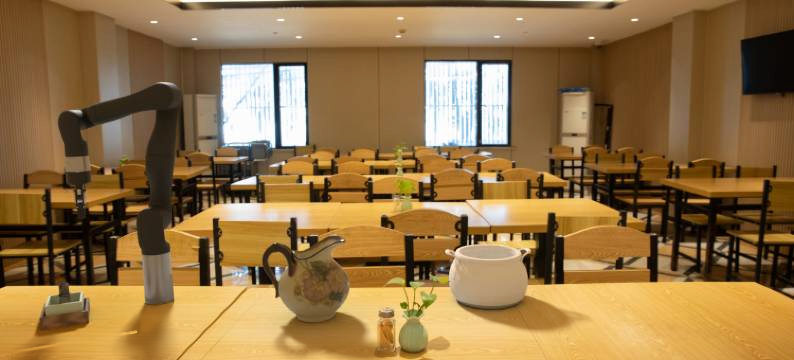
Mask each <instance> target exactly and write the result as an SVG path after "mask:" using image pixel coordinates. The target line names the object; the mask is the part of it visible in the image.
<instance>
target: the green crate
mask: <svg viewBox="0 0 794 360" xmlns="http://www.w3.org/2000/svg"><path fill="white" fill-rule="evenodd" d="M70 293H71V294H70V300H71V303H64V304H59V302H60V300H59V296H58V294H59V293H58V294H52V295H48V296H47V298H46V299H47V300H46V302H45V303H46V305H45V314H46V316H52V315H59V314H66V313H72V312H79V311H85V305H84V298H85V297H84V294H85V293H84V291H83V290H82V291H80V290H79V291H74V292H70Z"/></svg>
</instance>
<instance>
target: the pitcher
mask: <svg viewBox="0 0 794 360" xmlns="http://www.w3.org/2000/svg"><path fill="white" fill-rule="evenodd" d="M345 243H346V239H345V238H344V237H343V236H341V235H338V234H331V235H328V236H326V237H323V238H322V239H321V240H319V241H318V242H316V243H315V244H313V245H312V246H309V247H307V248H305V249H304V250H292V249H291V248H290V247H289V246H288V245H286V244H283V243H279V242H274V243H272V244H270V246H268V247H267V248H266V249H265V250H264V252H263V255H262V256H261V257H262V258H261V262H262V268H263V269H264V272H265V273H266V275H267V276H268V278H269V279H270V281H271V282H272V284H273V287H274V289H275V296H274V297H275V299H278V298H280V300H281V301H282V303H283V304H284V305H285V307H286V308H287V309H288V310H289V311H290V312H291V313H292V314H294V315H295V316H296V319H298V320H299V321H302V322H305V323H321V322H322V323H323V322H326V321H329V320H332V319H333V318H334V317H335V316H336V313H337V311H338V310H339V309H340V308H341V307H342V306H343V304H345V302H346V300H347V298H348V296H349V293H350V288H351V285H350V283H351V282H350V278H349V274H347V272H346V270H345V269H344V268H343V266H341V265H340V264H339V263H338V262H337V261H336V260H335V259H334V258H333V256H332V252H333V250H334V249H335V248H336V247H339V246H341V245H344V244H345ZM274 253H275V254H276V253H280V254H282V256H284V258H285V260H286V262H287V267H286V268H285V269H284V270H283V272H282V273H281V275H280V277H279V279H277V277H276V275H275V274H274V271H272V268H271V266H270V264H269V259H270V256H271V255H272V254H274Z"/></svg>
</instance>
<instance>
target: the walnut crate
mask: <svg viewBox="0 0 794 360" xmlns="http://www.w3.org/2000/svg"><path fill="white" fill-rule="evenodd" d="M45 305H46V302H45V303H43V306H42V308H41V312H40V315H39V327H40V331H44V330H49V329H55V328H56V329H57V328H62V327H69V326H77V325H81V324H82V325H83V324H89V322H90V316H91V315H90V314H91V313H90V312H91V303H90V296H89V297H84V305H85V311H79V312H72V313H66V314H59V315H52V316H46V314H45Z"/></svg>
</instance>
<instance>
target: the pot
mask: <svg viewBox="0 0 794 360" xmlns="http://www.w3.org/2000/svg"><path fill="white" fill-rule="evenodd" d="M521 251H526V252H525V253H523V254H522V252H521ZM531 252H532V250H531V249H530V248H529V247H522V248H515V247H512V246H508V245H501V244H490V243H489V244H488V243H487V244H486V243H485V244H483V243H482V244H481V243H480V244H470V245H465V246H464V245H463V246H461V247H459V248H457V249H456V250H455V251H454V250H451V249H448V248H447V249H445V253H444V254H446V255H447V256H451V257H454V259H453V261H452V263H451V264H450V269H449V275H448V281H450V282H448V284H449V288H450V292H451V294H452V296H453V297H454V298H455V300H457V302H459V303H460V304H462V305H464V306H468V307H470V308H471V307H472V308H475V309H476V308H477V309H485V310H496V309H497V310H500V309H506V308H510V307H513V306H515V305H518V304H519V303H520V302H521V301H522V300H523V299H524V297H525V295H526V293H527V289H528V283H529V282H528V281H529V279H528V272H527V267H526V266H525V264H524V263H523V260H524V258H525V256H527V255H528V254H530V253H531Z"/></svg>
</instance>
